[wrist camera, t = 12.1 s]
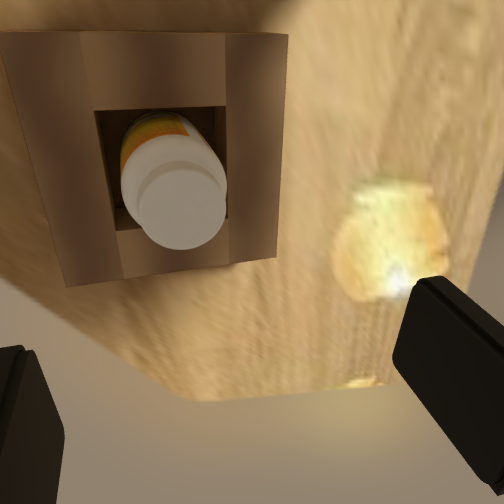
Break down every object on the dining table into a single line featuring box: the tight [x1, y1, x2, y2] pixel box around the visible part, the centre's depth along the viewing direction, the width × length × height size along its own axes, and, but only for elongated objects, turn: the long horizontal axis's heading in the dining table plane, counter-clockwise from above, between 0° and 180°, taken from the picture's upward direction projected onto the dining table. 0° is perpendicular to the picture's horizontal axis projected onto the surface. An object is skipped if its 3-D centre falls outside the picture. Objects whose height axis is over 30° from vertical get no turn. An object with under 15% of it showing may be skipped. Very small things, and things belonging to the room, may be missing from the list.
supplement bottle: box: [120, 111, 227, 250], centre depth 22 cm, size 5×5×10 cm
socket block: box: [0, 30, 289, 287], centre depth 24 cm, size 14×14×4 cm
